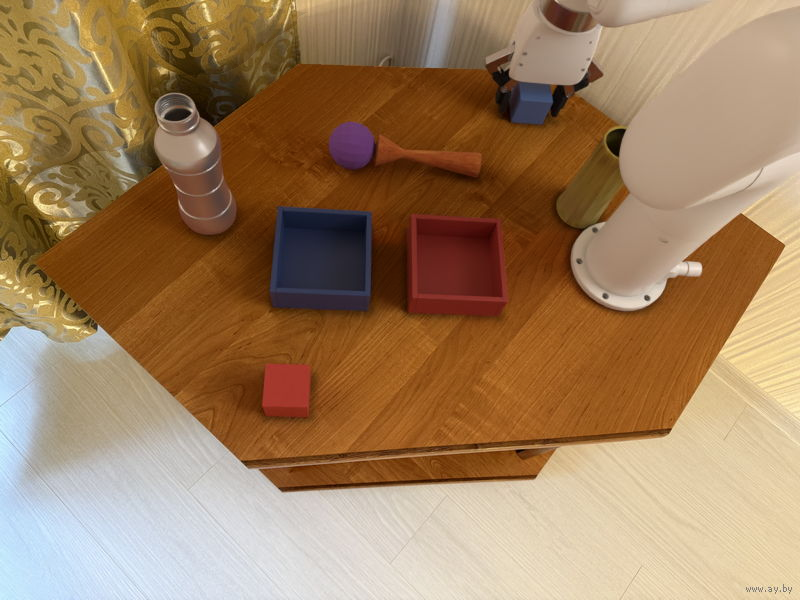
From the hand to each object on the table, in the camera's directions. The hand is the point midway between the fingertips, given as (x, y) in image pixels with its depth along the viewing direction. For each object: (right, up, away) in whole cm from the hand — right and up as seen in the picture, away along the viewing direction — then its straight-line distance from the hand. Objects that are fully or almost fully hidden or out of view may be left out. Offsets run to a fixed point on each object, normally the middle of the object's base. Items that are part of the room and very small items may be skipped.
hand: (526, 106), depth 86 cm
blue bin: (-28, -24, -13) cm, 39 cm away
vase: (+6, -16, -5) cm, 18 cm away
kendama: (-18, -10, -5) cm, 21 cm away
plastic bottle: (-42, -18, -12) cm, 47 cm away
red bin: (-12, -25, -11) cm, 30 cm away
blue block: (0, 0, +1) cm, 1 cm away
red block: (-31, -39, -20) cm, 53 cm away
